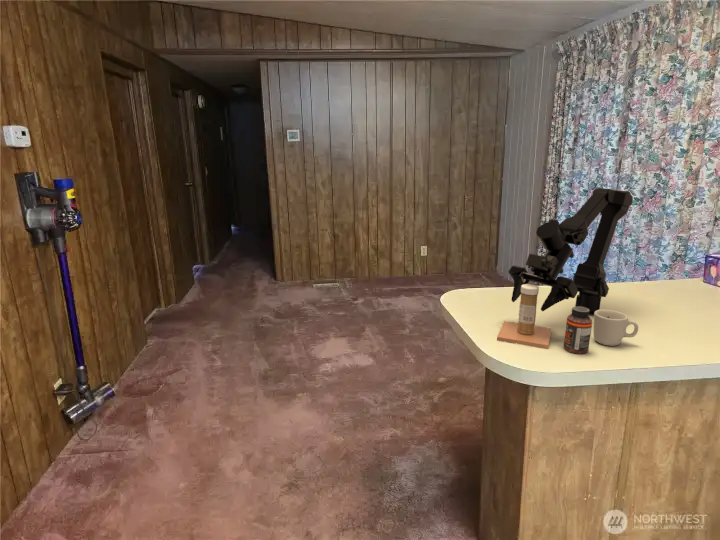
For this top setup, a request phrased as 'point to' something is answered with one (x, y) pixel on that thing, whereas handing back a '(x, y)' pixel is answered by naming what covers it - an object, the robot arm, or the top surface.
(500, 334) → the terracotta tile
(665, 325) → the top surface
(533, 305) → the sprinkles bottle
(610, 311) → the cup
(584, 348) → the supplement bottle
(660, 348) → the top surface
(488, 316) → the top surface
